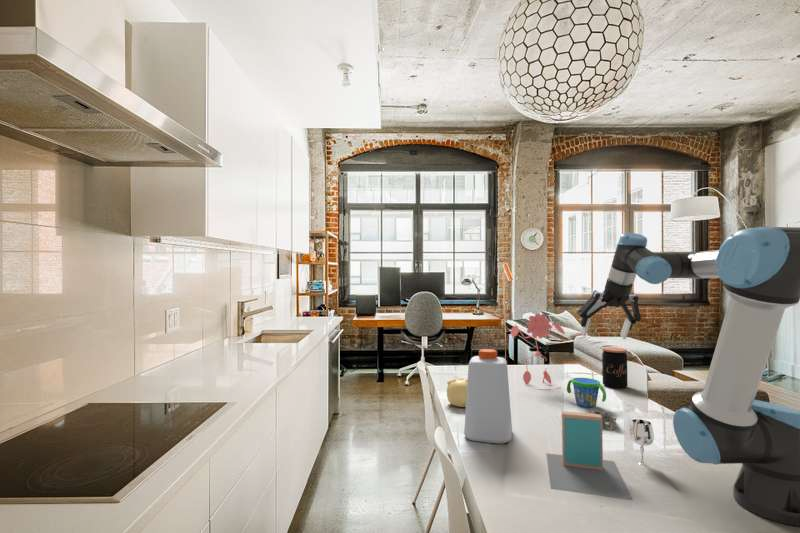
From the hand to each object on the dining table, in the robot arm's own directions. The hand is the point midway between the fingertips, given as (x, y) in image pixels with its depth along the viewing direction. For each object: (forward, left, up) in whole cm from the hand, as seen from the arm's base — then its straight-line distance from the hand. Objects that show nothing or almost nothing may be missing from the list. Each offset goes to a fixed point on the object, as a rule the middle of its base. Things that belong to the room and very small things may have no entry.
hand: (602, 335), depth 141 cm
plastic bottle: (+16, +37, -33) cm, 52 cm away
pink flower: (+52, -26, -33) cm, 67 cm away
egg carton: (+4, -6, -33) cm, 34 cm away
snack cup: (+21, -19, -33) cm, 43 cm away
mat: (-18, +33, -32) cm, 50 cm away
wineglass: (-22, +14, -33) cm, 41 cm away
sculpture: (+46, +26, -33) cm, 62 cm away
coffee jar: (+34, -57, -33) cm, 74 cm away
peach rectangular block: (-15, +30, -32) cm, 46 cm away
